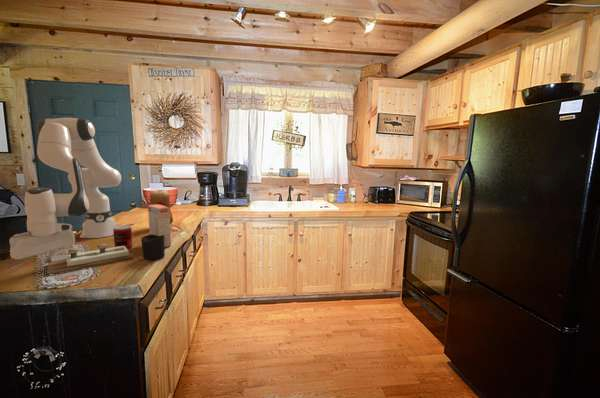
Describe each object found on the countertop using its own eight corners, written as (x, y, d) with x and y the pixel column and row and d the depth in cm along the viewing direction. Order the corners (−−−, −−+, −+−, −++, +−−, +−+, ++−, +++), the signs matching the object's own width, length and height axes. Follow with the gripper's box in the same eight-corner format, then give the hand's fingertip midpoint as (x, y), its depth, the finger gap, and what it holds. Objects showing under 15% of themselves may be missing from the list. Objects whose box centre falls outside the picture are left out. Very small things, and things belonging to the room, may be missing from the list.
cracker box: (171, 246, 144) (169, 207, 141) (159, 249, 139) (157, 208, 136) (161, 240, 153) (159, 203, 150) (149, 242, 149) (147, 204, 146)
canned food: (129, 244, 145) (127, 224, 143) (135, 247, 140) (133, 226, 138) (112, 248, 139) (110, 226, 138) (118, 251, 134) (116, 229, 133)
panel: (66, 259, 119) (65, 250, 118) (124, 249, 133) (123, 241, 132) (67, 266, 111) (66, 257, 111) (128, 255, 126) (128, 246, 125)
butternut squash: (149, 231, 170) (147, 191, 166) (149, 227, 181) (147, 189, 178) (174, 229, 177) (172, 190, 173) (172, 224, 188) (170, 188, 184)
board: (47, 264, 116) (46, 249, 115) (127, 250, 136) (126, 237, 135) (47, 275, 106) (45, 258, 105) (133, 258, 125) (132, 244, 124)
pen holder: (161, 252, 134) (160, 233, 132) (168, 258, 127) (167, 237, 126) (140, 257, 128) (138, 236, 126) (145, 263, 121) (144, 241, 119)
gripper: (14, 236, 98) (19, 273, 100) (76, 224, 117) (79, 255, 119) (3, 234, 100) (8, 271, 102) (65, 222, 119) (68, 253, 121)
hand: (46, 262), depth 111 cm, fingers closed
